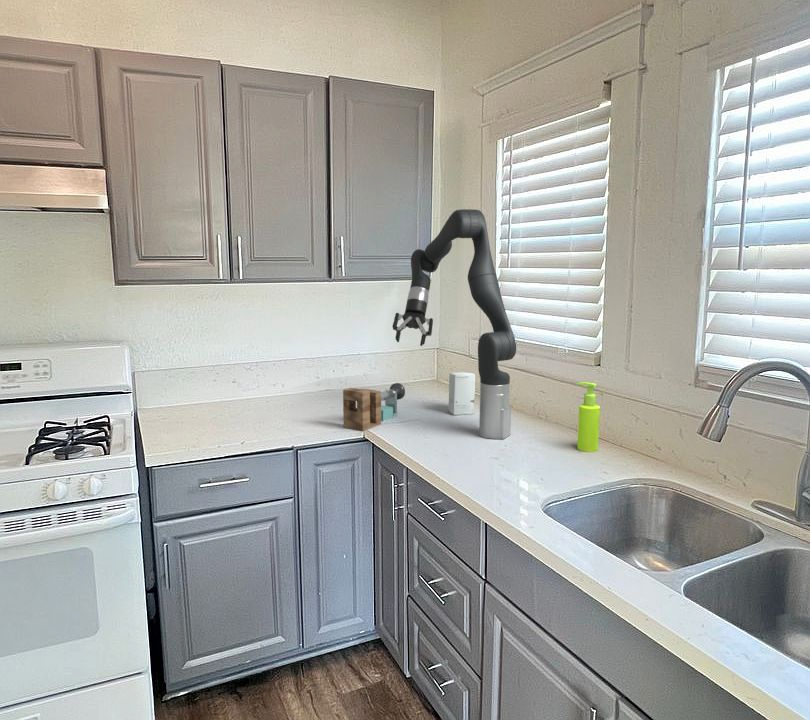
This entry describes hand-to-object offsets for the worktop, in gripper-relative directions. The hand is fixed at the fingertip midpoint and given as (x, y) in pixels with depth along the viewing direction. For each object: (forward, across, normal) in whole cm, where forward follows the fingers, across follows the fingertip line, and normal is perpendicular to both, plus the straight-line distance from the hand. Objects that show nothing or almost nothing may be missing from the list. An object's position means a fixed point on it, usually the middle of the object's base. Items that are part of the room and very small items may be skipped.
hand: (409, 343), depth 218 cm
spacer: (+28, -5, +5) cm, 29 cm away
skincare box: (+19, +22, +13) cm, 32 cm away
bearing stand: (+33, -10, -4) cm, 35 cm away
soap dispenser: (+31, +60, -24) cm, 72 cm away
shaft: (+27, -5, +4) cm, 28 cm away
